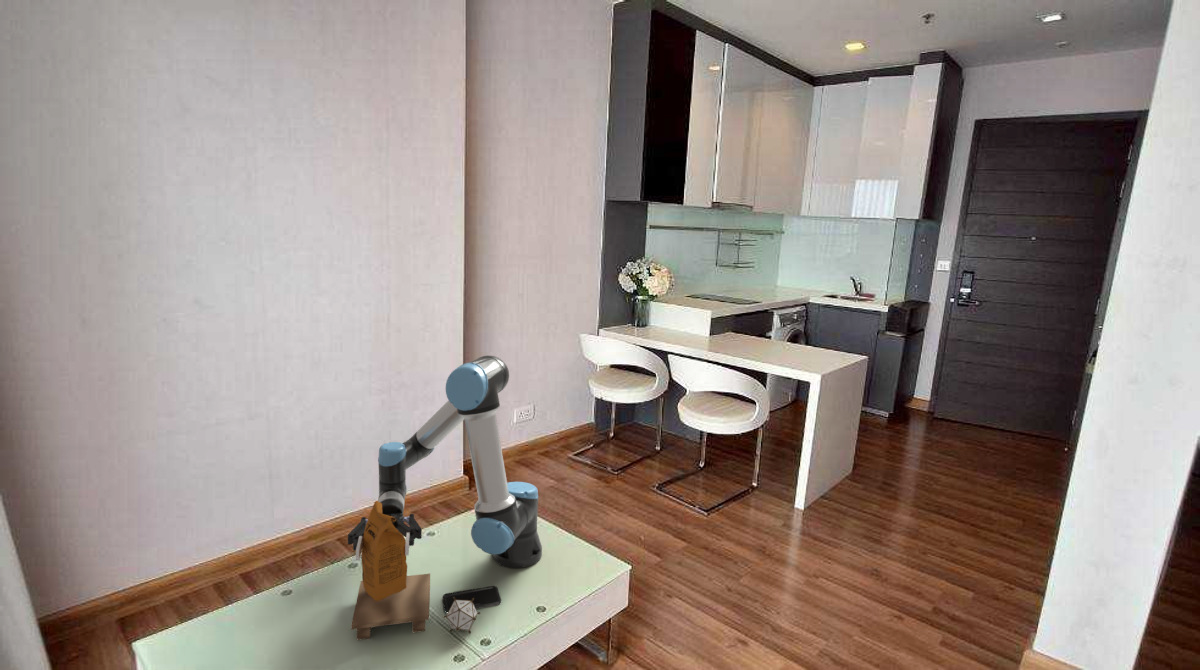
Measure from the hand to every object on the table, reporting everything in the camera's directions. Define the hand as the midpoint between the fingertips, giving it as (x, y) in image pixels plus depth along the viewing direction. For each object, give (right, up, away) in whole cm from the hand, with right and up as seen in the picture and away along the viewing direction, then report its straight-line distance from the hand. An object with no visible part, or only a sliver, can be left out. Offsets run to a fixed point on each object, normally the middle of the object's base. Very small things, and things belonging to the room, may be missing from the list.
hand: (382, 552), depth 145 cm
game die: (+19, -21, +3) cm, 28 cm away
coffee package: (-2, -11, +6) cm, 13 cm away
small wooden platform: (0, -19, +7) cm, 20 cm away
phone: (+19, -19, +14) cm, 30 cm away
